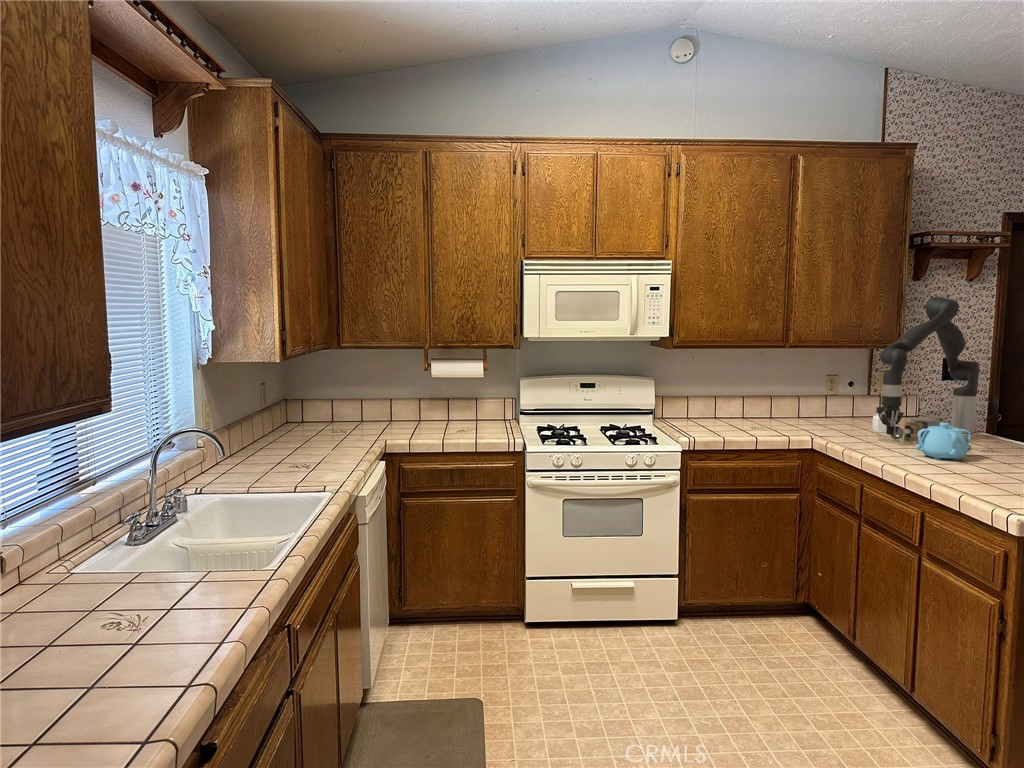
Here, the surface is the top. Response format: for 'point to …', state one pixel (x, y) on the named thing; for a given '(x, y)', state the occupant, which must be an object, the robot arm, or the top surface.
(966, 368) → the robot arm
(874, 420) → the medicine bottle
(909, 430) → the shaft
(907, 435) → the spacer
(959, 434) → the decorative pot
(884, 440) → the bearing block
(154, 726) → the top surface
